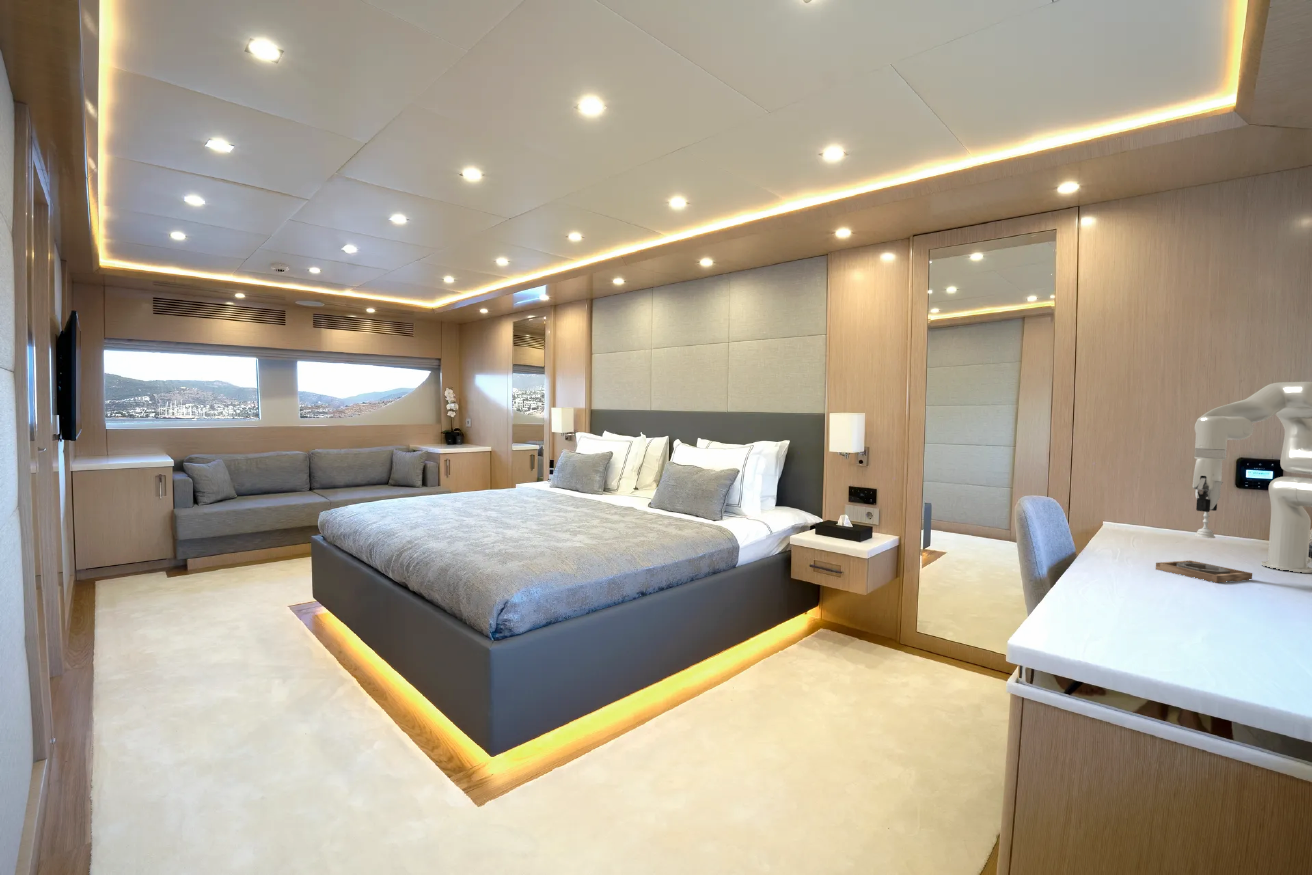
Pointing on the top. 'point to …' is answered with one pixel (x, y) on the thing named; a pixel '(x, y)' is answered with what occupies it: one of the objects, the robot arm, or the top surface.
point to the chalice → (1214, 499)
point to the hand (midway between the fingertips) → (1206, 510)
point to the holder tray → (1202, 574)
